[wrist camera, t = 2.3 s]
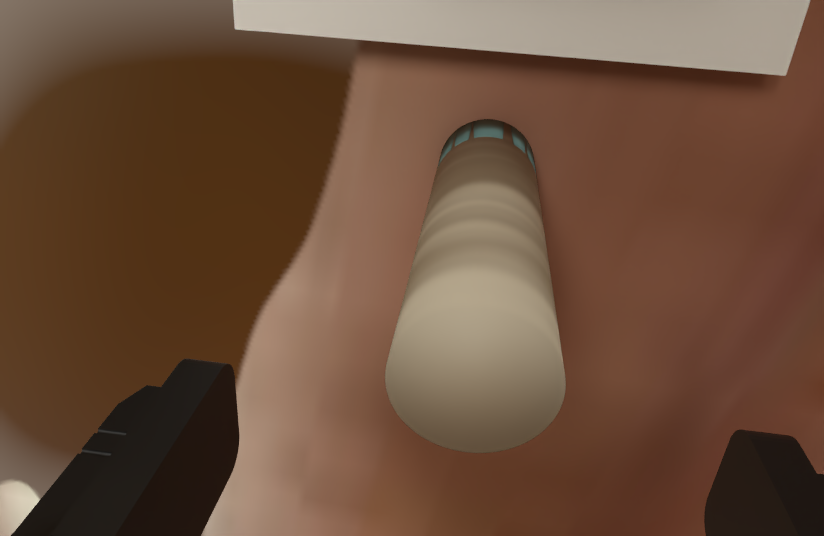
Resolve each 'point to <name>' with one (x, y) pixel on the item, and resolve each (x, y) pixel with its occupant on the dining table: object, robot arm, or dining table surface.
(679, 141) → the dining table surface
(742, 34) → the cup bracket
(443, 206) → the rail post
